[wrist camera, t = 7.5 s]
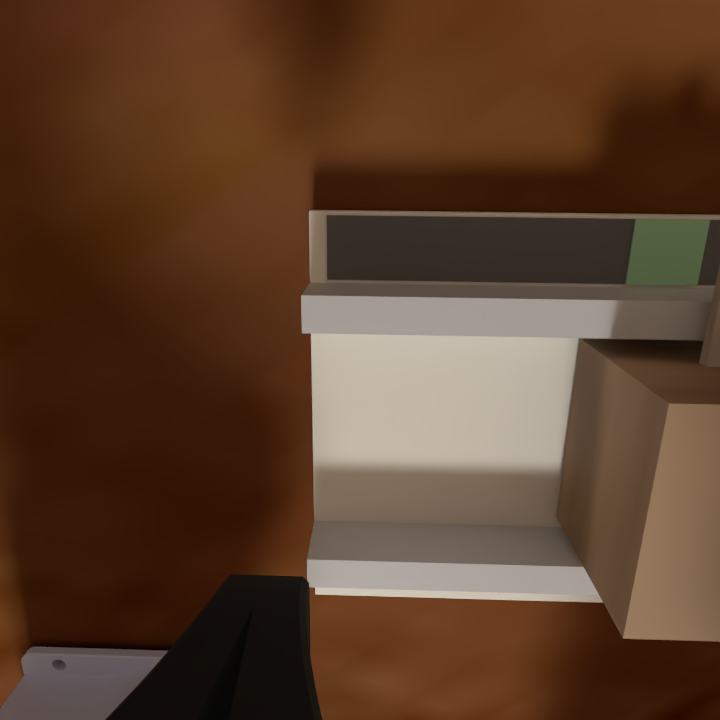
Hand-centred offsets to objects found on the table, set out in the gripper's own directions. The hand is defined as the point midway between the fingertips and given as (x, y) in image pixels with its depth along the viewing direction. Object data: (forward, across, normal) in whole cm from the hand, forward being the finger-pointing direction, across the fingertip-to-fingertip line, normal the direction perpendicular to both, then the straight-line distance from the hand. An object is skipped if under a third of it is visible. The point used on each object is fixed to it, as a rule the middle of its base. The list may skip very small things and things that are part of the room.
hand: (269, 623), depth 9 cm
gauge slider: (+8, -10, -2) cm, 13 cm away
